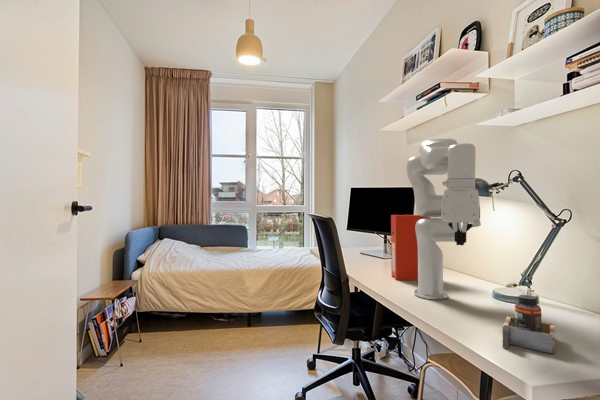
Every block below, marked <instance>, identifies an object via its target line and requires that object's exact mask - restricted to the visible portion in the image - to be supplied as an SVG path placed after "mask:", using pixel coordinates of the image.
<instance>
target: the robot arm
mask: <svg viewBox="0 0 600 400" xmlns="http://www.w3.org/2000/svg"><path fill="white" fill-rule="evenodd" d="M418 152H419V154H420V155H415V156H412V157H410V158H409V159H407V162H406V174H407V177H408V180H409V182H410V184H411V187H412V190H413V194H414V203H415V209H416V213H417V215H419V216H421V217H430V218H424V219H420V220H419V221H417V223H416V225H415V231H416V237H417V246H418V280H417V289H414V291H413V294H414V295H415V296H416V297H418V298H422V299H427V300H437V301H438V300H446V299H447V298H448V293H447V292H446V291H444V253H443V250H442V249H441V247H439V245H438V244H437V243H441V242H445V243H446V242H447V243H450V242H455V243H456V246H464V245H465V244H466V243H467V232H468V231H470V229H471V228H479V227H480V226H481V225H482V223H481V220H480V219H481V205H480V204H481V203H480V196H479V195H480V194H479V191H478V189H476V146H475V145H474V144H473V143H469V142H467V143H458V141H457V140H456V139H454V138H430V139H426V140H424V141H423V142H421V144H420V145H419V149H418ZM446 174H447V178H446V180H444V181H442V186H445V187H446V188H447V189H444V190H443V194H436V191H435V186H434V184H433V183H432V182H431V180H430V179H428V178H427V177H426V176H432V175H433V176H435V175H436V176H437V175H446Z"/></svg>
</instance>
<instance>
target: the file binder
mask: <svg viewBox="0 0 600 400" xmlns="http://www.w3.org/2000/svg"><path fill="white" fill-rule="evenodd" d="M424 218H431V217H421V216H419V215H418V214H402V215H401V214H391V215H390V232H391V234H390V236H391V238H390V239H391V240H390V241H391V244H390V245H391V248H390V249H391V250H390V253H391V256H390V257H391V260H390V261H391V263H390V264H391V277H392V278H393V279H394V278H395V279H396V281H407V280H408V281H418V246H417V237H416V231H415V225H416V223H417V221H419V220H420V219H424ZM395 279H394V280H395Z"/></svg>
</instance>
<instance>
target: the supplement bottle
mask: <svg viewBox="0 0 600 400" xmlns="http://www.w3.org/2000/svg"><path fill="white" fill-rule="evenodd" d="M537 303H538V301H537V297H536V296H534V295H529V294H519V295H518V301H517V302H515V304H514V317H515V327H517V328H522V329H527V330H532V331H537V332H542V322H543V321H542V319H543V318H542V308H541V306H540V305H539V304H537Z"/></svg>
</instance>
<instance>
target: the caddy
mask: <svg viewBox="0 0 600 400" xmlns="http://www.w3.org/2000/svg"><path fill="white" fill-rule="evenodd" d="M503 322H504V323H503V324H502V329H503V328H504V325H507V326H512V327H515V316H513V315H512V316H511V315H507V316H506V318H505V321H503ZM555 327H556V325H555V324H554V323H550V322H549V323H548V322H543V321H542V333H547V334H552V354H556V334H555V333H556V330H555Z"/></svg>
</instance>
